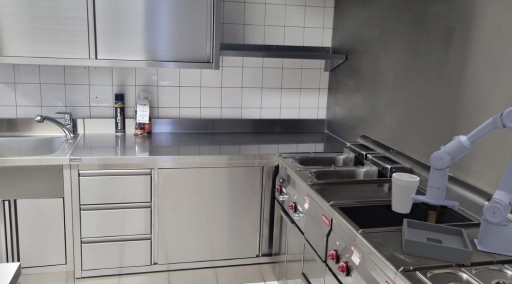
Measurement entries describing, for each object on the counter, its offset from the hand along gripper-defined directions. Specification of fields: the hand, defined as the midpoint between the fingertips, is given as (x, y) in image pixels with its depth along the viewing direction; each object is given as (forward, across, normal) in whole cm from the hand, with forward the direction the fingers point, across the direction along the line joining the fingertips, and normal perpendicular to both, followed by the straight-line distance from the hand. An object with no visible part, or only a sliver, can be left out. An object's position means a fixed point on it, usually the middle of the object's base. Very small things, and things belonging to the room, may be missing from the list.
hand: (430, 225), depth 150 cm
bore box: (+1, 0, +15) cm, 15 cm away
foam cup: (+2, +9, -15) cm, 18 cm away
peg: (+1, 0, 0) cm, 1 cm away
